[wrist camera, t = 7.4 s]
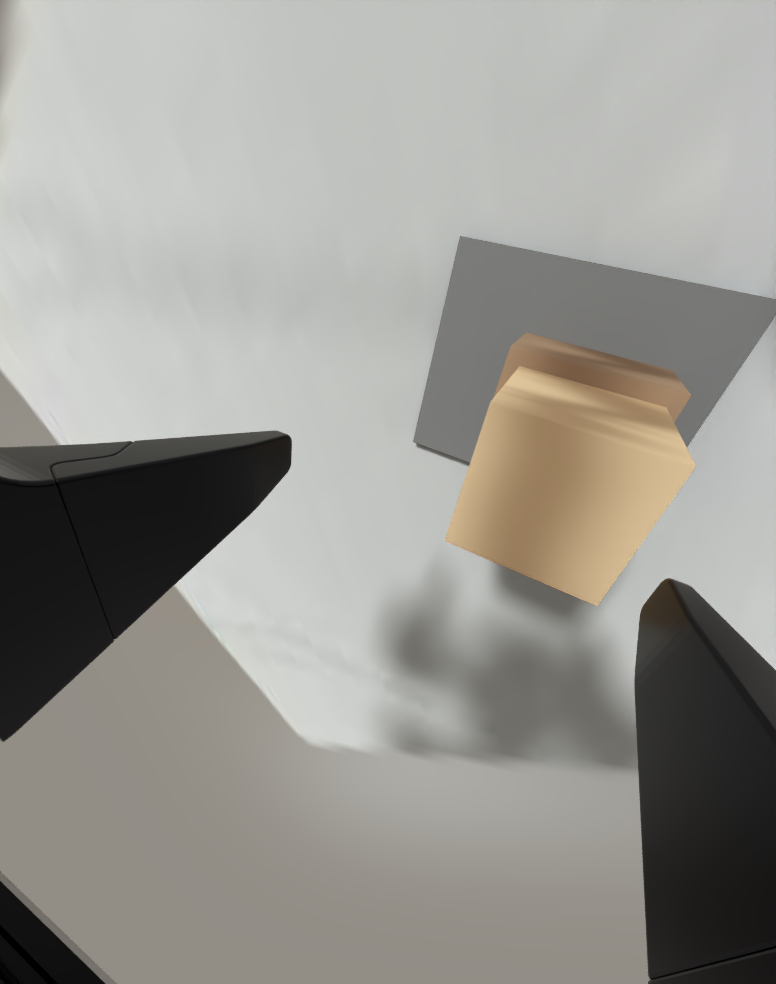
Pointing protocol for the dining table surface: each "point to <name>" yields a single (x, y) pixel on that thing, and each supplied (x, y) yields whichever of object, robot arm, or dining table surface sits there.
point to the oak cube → (567, 481)
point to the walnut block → (597, 371)
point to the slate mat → (576, 332)
